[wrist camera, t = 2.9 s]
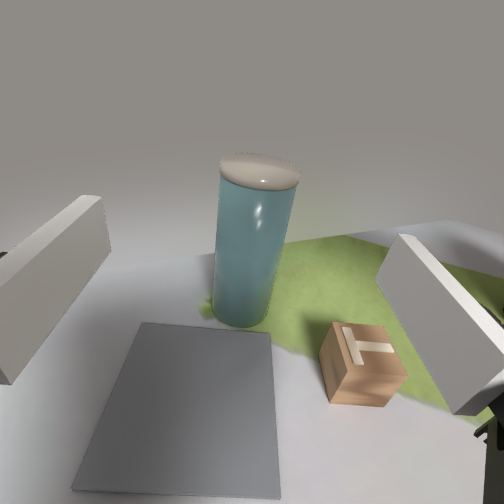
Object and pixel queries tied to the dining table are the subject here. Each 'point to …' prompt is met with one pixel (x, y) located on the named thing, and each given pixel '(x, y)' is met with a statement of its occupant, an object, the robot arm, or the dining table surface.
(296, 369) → the dining table surface
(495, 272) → the dining table surface
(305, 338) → the dining table surface
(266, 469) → the mat
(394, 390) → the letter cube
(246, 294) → the jar
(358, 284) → the dining table surface
